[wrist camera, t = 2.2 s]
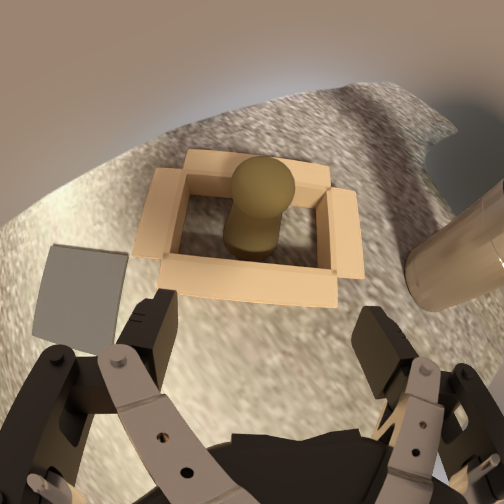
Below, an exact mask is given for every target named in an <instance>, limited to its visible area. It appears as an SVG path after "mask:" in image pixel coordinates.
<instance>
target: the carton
mask: <svg viewBox="0 0 504 504" xmlns="http://www.w3.org/2000/svg"><path fill="white" fill-rule="evenodd" d="M255 156H261V155H252V154H244V153H234V152H224V151H213V150H199V149H188V151H187V154H186V158H185V161H184V165H183V169H176V168H156V169H155V172H154V175H153V178H152V182H151V185H150V188H149V191H148V195H147V198H146V202H145V205H144V209H143V212H142V216H141V220H140V223H139V227H138V231H137V235H136V239H135V243H134V247H133V252H132V256H134V257H142V258H151V259H160V260H162V261H161V267H160V272H159V278H158V284H157V290H158V289H159V288H162V289H170V290H176V291H177V294H178V295H186V296H195V297H203V298H213V299H222V300H232V301H242V302H253V303H265V304H278V305H292V306H307V307H325V308H338V289H337V277H341V278H353V279H364V263H363V251H362V240H361V231H360V222H359V214H358V206H357V199H356V192H355V191H350V190H345V189H340V188H334V187H331V181H330V172H329V166H324V165H319V164H313V163H308V162H302V161H295V160H289V159H282V158H275V157H272V158H275V159H278V160H279V161H281V162H282V163H284V164H285V165H286V166H287V167H288V168H289V169H290V171H291V173H292V175H293V177H294V179H295V194H294V197H293V200H292V202H291V204H290V205H292V206H299V207H306V208H313V209H316V227H317V264H318V268H309V267H298V266H288V265H278V264H268V263H258V262H248V261H238V260H229V259H219V258H209V257H200V256H191V255H181V254H178V252H179V247H180V241H181V236H182V231H183V225H184V220H185V215H186V210H187V206H188V201H189V196H190V194H191V195H202V196H213V197H223V198H232V195H231V192H230V185H231V177H232V175H233V173H234V171H235V169H236V167H237V166H238V165H240V164H241V163H242V162H243V161H245V160H247V159H249V158H251V157H255ZM157 290H156V291H157Z"/></svg>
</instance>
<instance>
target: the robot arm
mask: <svg viewBox="0 0 504 504" xmlns="http://www.w3.org/2000/svg"><path fill="white" fill-rule="evenodd" d="M405 276H406V281H407V285H408V288H409V291H410V293H411V295H412V297H413V298H414V300H415V301H416V302H417V303H418V304H419V305H420V306H421V307H422V308H424V309H425V310H427V311H431V312H437V311H440V310H443V309H446V308H449V307H452V306H454V305H457V304H460V303H463V302H466V301H468V300H471V299H473V298H476V297H479V296H481V295H483V294H486V293H488V292H491V291H493V290H495V289H498V288H500V287H502V286H504V179H503V180H501V181H500V182H499V183H498V184H497V185H496V186H495V187H493V188H492V189H491V190H490V191H489V192H487V193H486V194H485V195H484V196H483V197H482V198H480V199H479V200H478V201H477V202H476V203H474V204H473V205H472V206H471V207H469V208H468V209H467V210H466V211H464V212H463V213H462V214H461V215H459V216H458V217H457V218H455V219H454V220H453V221H451V222H450V223H449V224H447V225H446V226H445V227H443V228H442V229H441V230H439V231H438V232H436V233H435V234H434V235H432V236H431V237H429V238H428V239H427V240H425V241H424V242H422V243H421V244H420V245H418V246H417V247H415V248H414V249H413V250H412V251H411V252H410V254H409V255H408V258H407V261H406V266H405ZM177 329H178V301H177V291H176V290H170V289H162V288H159V289H158V290H157V292H156V294H155V296H154V298H153V299H147V298H145V299H144V300H142V301H141V302H140V303H138V304H137V305H136V307H135V309H134V311H133V312H132V314H131V316H130V318H129V321H127V323H126V325H125V327H124V329H123V331H122V333H121V335H120V336H119V338H118V340H117V342H116V344H114V345H110V346H108V347H106V348H104V349H103V350H102V351H101V352H100V353H99V355H98V356H94V357H76V356H75V353H74V351H73V350H72V349H71V348H70V347H68V346H66V345H62V344H58V345H53V346H50V347H48V348H46V349H45V350H44V351H43V352H42V353H41V355H40V357H39V358H38V360H37V362H36V363H35V365H34V367H33V368H32V370H31V372H30V373H29V375H28V377H27V379H26V380H25V382H24V384H23V386H22V388H21V389H20V391H19V393H18V395H17V397H16V399H15V401H14V403H13V405H12V407H11V409H10V411H9V413H8V415H7V417H6V419H5V421H4V423H3V426H2V428H1V430H0V504H86V502H85V499H84V497H83V496H82V494H81V493H80V492H79V491H78V490H77V489H76V488H74V487H75V483H76V478H77V474H78V470H79V466H80V462H81V458H82V455H83V451H84V447H85V444H86V440H87V437H88V434H89V430H90V427H91V424H92V421H93V418H94V415H95V414H118V416H119V419H120V421H121V423H122V425H123V427H124V429H125V431H126V433H127V435H128V437H129V439H130V441H131V443H132V445H133V447H134V448H135V450H136V452H137V454H138V456H139V458H140V459H141V461H142V463H143V465H144V466H145V468H146V470H147V471H148V473H149V475H150V476H151V478H152V479H153V481H154V482H155V484H156V487H155V488H153V489H152V490H151V491H149V492H148V493H147V494H145V495H144V496H142V497H141V498H140V499H138V500H137V501H135V502H134V503H132V504H498V503H500V502H501V501H503V500H504V416H503V415H502V413H501V411H500V409H499V407H498V406H497V404H496V402H495V401H494V399H493V398H492V396H491V394H490V392H489V391H488V389H487V388H486V386H485V385H484V383H483V381H482V380H481V378H480V377H479V375H478V374H477V372H476V371H475V370H474V369H473V368H472V367H471V366H469V365H467V364H464V363H459V364H457V365H456V366H455V367H454V369H453V371H452V372H446V371H440V369H439V367H438V365H437V364H436V363H435V362H433V361H432V360H430V359H428V358H425V357H419V356H418V354H417V353H416V351H415V350H414V348H413V347H412V345H411V344H410V342H409V341H408V339H406V336H405V335H404V333H402V330H401V329H400V328H399V326H398V325H397V323H395V322H394V321H393V320H392V319H390V318H389V317H388V316H387V315H386V314H385V312H384V311H383V309H382V308H381V307H380V306H364V307H363V308H362V310H361V312H360V315H359V318H358V320H357V323H356V325H355V328H354V330H353V333H352V338H351V343H352V347H353V349H354V351H355V353H356V356H357V358H358V360H359V362H360V365H361V367H362V369H363V371H364V374H365V376H366V378H367V381H368V383H369V385H370V388H371V390H372V392H373V395H374V397H375V399H383V398H386V399H387V402H386V403H385V405H384V407H383V409H382V412H381V415H380V417H379V420H378V422H377V425H376V427H375V430H374V432H373V434H372V436H371V438H366V437H361V436H360V432H359V429H351V430H343V431H334V432H329V433H326V434H323V435H319V436H316V437H313V438H310V439H306V440H303V441H296V440H290V439H284V438H279V437H274V436H269V435H254V434H232V435H231V442H226V443H221V444H217V445H214V446H211V447H208V448H205V447H204V446H203V445H202V443H201V442H200V441H199V439H198V438H197V437H196V435H195V434H194V433H193V431H192V430H191V429H190V427H189V426H188V425H187V423H186V422H185V420H184V419H183V418H182V416H181V415H180V413H179V412H178V410H177V409H176V407H175V406H174V404H173V403H172V401H171V400H170V399H169V397H168V396H167V395H166V394H161V393H160V391H161V388H162V384H163V380H164V377H165V373H166V369H167V366H168V362H169V359H170V355H171V352H172V348H173V345H174V341H175V338H176V334H177ZM460 404H461V405H462V407H463V409H464V410H465V412H466V414H467V416H468V420H469V422H468V426H467V428H466V429H465V430H464V431H462V429H461V427H460V424H459V422H458V420H457V418H456V416H455V414H454V411H455V410H456V409H457V408H458V407H459V405H460ZM437 451H438V453H439V455H440V458H441V461H442V464H443V466H444V469H445V472H446V475H447V478H448V481H449V486H448V485H446V484H444V483H443V482H441V481H440V480H438V479H436V478H435V477H433V476H432V473H433V469H434V465H435V460H436V456H437Z"/></svg>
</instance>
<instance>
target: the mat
mask: <svg viewBox="0 0 504 504" xmlns="http://www.w3.org/2000/svg"><path fill="white" fill-rule="evenodd" d="M128 258H129V257H128V256H127V255H119V254H110V253H102V252H95V251H87V250H79V249H72V248H64V247H57V246H51V247H50V250H49V254H48V257H47V261H46V265H45V269H44V273H43V277H42V281H41V285H40V290H39V295H38V300H37V305H36V310H35V316H34V323H33V329H32V335H33V336H35V337H38V338H41V339H44V340H47V341H50V342H53V343H56V344H62V345H66V346H68V347H70V348H72V349H75V350H79V351H82V352H86V353H90V354H94V355H97V356H98V355H99V353H100V352H101V351H102V350H103V349H104V348H106V347H108V346H110V345H114V338H115V330H116V323H117V316H118V310H119V304H120V298H121V293H122V287H123V282H124V277H125V272H126V267H127V263H128Z"/></svg>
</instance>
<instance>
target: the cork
mask: <svg viewBox="0 0 504 504" xmlns="http://www.w3.org/2000/svg"><path fill="white" fill-rule="evenodd" d="M230 192H231V195H232V198H233V204H232V207H231V210H230V213H229V216H228V219H227V222H226V225H225V228H224V234H223V239H224V242H225V246H226V247H227V249H228V250H229V252H230V253H231V254H233V255H234V256H235V257H237V258H238V259H241V260H244V261H252V262H256V261H260V260H263V259H265V258H267V257H268V256H270V255H271V254H272V253H273V251H274V250H275V249H276V246H277V243H278V238H279V231H280V225H281V218H282V212H284V211H285V210H286V209H287V208H288V206H289V205H290V204H291V202H292V200H293V197H294V194H295V179H294V177H293V175H292V173H291V171H290V169H289V168H288V167H287V166H286V165H285V164H284V163H282V162H281V161H279V160H278V159H275V158H272V157H269V156H255V157H251V158H249V159H247V160H245V161H243V162H242V163H241V164H240V165H238V166H237V167H236V169H235V171H234V173H233V175H232V177H231V185H230Z"/></svg>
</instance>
